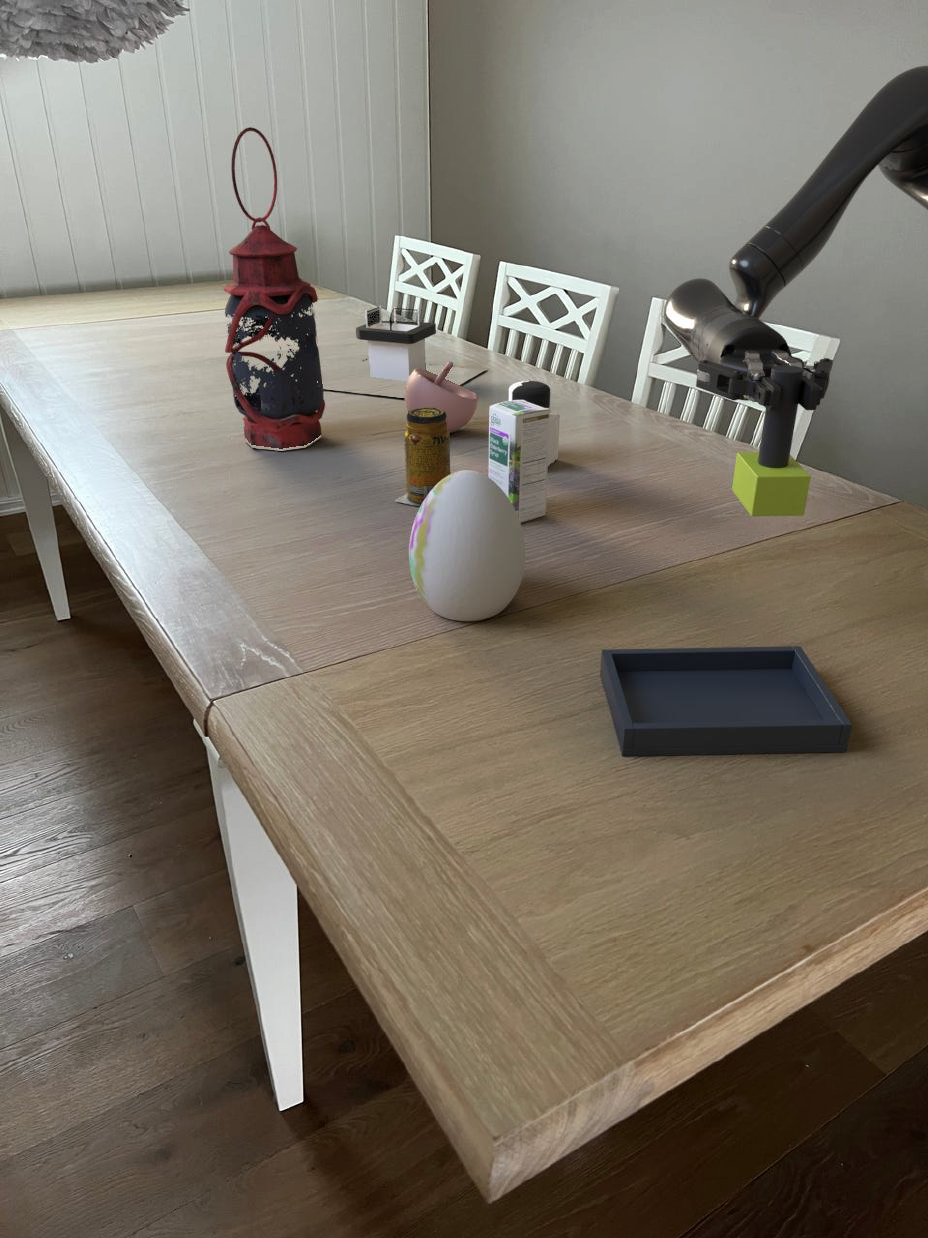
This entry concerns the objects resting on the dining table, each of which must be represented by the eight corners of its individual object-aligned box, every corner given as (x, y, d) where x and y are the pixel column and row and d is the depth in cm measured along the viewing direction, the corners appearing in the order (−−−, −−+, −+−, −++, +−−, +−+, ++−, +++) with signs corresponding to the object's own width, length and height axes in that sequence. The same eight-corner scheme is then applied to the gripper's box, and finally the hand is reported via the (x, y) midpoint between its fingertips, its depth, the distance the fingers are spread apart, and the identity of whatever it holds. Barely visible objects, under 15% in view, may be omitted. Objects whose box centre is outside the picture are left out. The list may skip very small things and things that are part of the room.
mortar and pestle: (486, 439, 150) (486, 368, 144) (414, 446, 147) (411, 374, 141) (468, 418, 160) (467, 351, 154) (400, 424, 157) (396, 356, 152)
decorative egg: (449, 570, 107) (446, 445, 100) (543, 594, 102) (548, 463, 95) (388, 614, 98) (381, 480, 91) (489, 643, 93) (489, 503, 85)
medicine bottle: (558, 459, 141) (562, 380, 135) (540, 473, 135) (542, 392, 129) (516, 452, 144) (517, 375, 138) (496, 466, 138) (496, 386, 132)
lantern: (300, 459, 142) (267, 127, 120) (217, 450, 146) (171, 128, 124) (343, 429, 155) (320, 125, 133) (266, 422, 159) (232, 126, 137)
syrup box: (485, 512, 123) (486, 404, 116) (521, 502, 125) (523, 396, 118) (512, 526, 118) (514, 415, 111) (547, 515, 121) (552, 406, 114)
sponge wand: (780, 489, 93) (802, 359, 87) (804, 515, 87) (828, 378, 81) (731, 489, 93) (749, 359, 87) (751, 516, 87) (772, 378, 81)
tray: (795, 671, 87) (800, 645, 86) (846, 752, 76) (852, 724, 75) (599, 674, 87) (601, 649, 86) (622, 756, 76) (624, 728, 75)
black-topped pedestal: (488, 370, 189) (488, 302, 183) (432, 403, 168) (430, 327, 162) (368, 358, 199) (364, 293, 193) (301, 387, 179) (295, 316, 172)
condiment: (420, 485, 132) (417, 402, 126) (473, 494, 128) (472, 409, 122) (393, 502, 126) (389, 416, 120) (448, 512, 123) (446, 424, 117)
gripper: (679, 318, 96) (722, 358, 81) (814, 316, 96) (882, 356, 81) (671, 390, 99) (711, 441, 84) (801, 388, 99) (865, 439, 84)
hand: (794, 399), depth 82 cm, fingers closed on sponge wand, 3 cm apart
